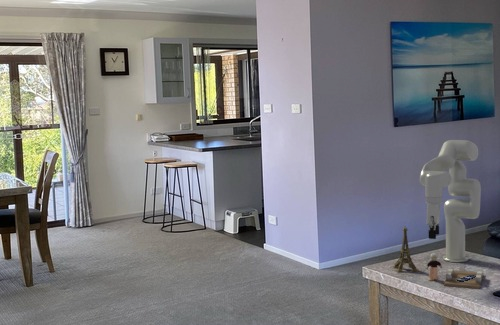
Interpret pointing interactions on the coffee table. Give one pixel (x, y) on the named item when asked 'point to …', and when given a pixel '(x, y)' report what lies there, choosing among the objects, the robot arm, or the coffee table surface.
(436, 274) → the grandmother figurine
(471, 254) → the coffee table surface
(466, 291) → the coffee table surface
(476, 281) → the board
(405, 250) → the eiffel tower
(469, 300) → the coffee table surface
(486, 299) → the coffee table surface
